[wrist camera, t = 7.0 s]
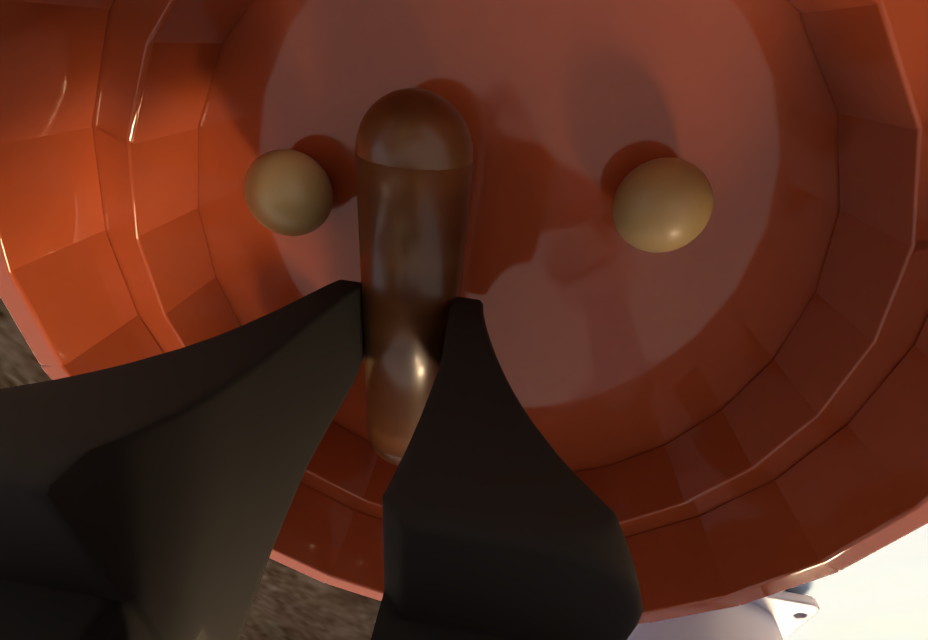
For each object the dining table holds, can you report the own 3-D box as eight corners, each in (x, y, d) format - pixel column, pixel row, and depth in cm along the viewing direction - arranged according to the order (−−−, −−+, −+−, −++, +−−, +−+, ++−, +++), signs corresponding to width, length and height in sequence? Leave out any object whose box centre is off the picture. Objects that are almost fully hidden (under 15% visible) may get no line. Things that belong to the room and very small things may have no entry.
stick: (449, 429, 15) (436, 490, 13) (381, 418, 15) (358, 476, 13) (485, 90, 9) (471, 102, 7) (375, 77, 9) (330, 85, 7)
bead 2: (677, 238, 11) (704, 273, 9) (596, 227, 11) (609, 260, 9) (709, 154, 10) (747, 177, 8) (619, 143, 10) (638, 164, 8)
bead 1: (320, 253, 10) (251, 250, 11) (357, 210, 11) (294, 210, 12) (283, 171, 9) (207, 173, 9) (331, 133, 10) (261, 137, 11)
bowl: (697, 521, 17) (751, 675, 13) (239, 443, 18) (153, 561, 14) (1182, -190, 7) (2296, -591, 2) (30, -270, 8) (-555, -643, 4)
